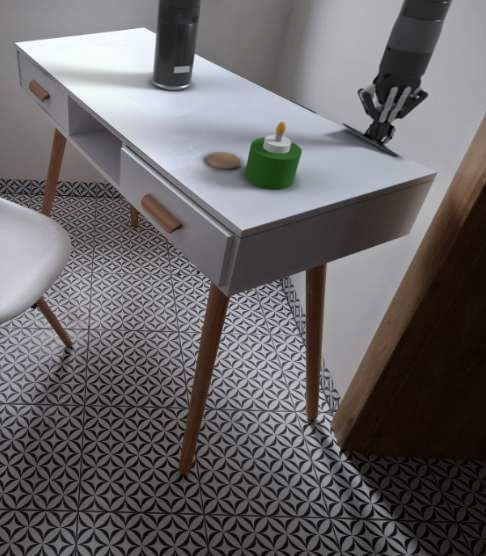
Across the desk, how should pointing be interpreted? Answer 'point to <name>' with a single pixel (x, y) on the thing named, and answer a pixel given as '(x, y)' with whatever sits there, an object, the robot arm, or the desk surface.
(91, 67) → the desk surface
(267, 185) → the candle
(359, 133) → the build plate
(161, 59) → the robot arm
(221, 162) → the coaster
